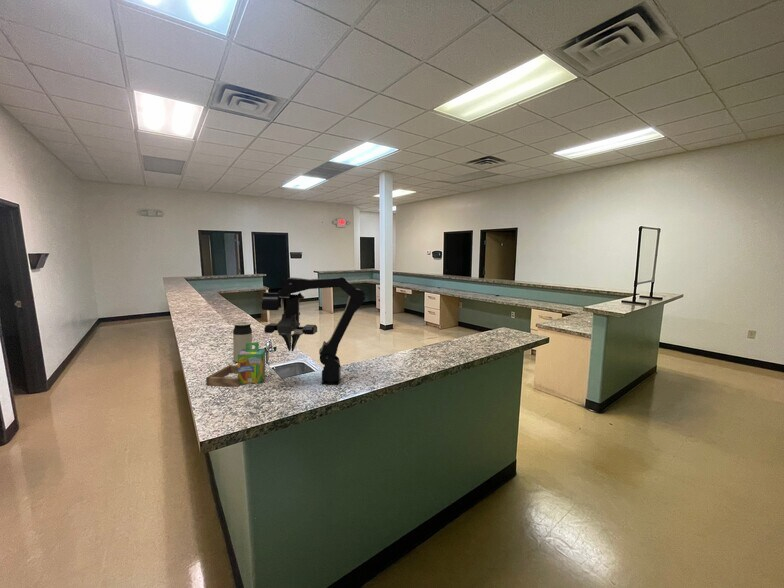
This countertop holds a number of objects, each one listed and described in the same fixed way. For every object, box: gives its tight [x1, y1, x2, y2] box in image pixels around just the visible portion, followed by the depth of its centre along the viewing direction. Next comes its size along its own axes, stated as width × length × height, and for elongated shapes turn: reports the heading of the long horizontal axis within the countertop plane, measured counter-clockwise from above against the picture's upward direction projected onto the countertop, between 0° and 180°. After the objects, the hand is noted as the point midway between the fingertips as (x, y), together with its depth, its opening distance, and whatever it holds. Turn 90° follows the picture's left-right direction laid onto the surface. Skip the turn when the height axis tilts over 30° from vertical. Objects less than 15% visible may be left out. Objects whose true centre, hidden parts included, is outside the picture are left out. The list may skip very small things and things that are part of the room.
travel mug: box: [232, 321, 253, 363], centre depth 149 cm, size 8×8×18 cm
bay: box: [205, 364, 241, 388], centre depth 125 cm, size 12×15×3 cm
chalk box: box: [237, 342, 266, 385], centre depth 125 cm, size 9×9×15 cm
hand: (291, 350), depth 121 cm, fingers closed
